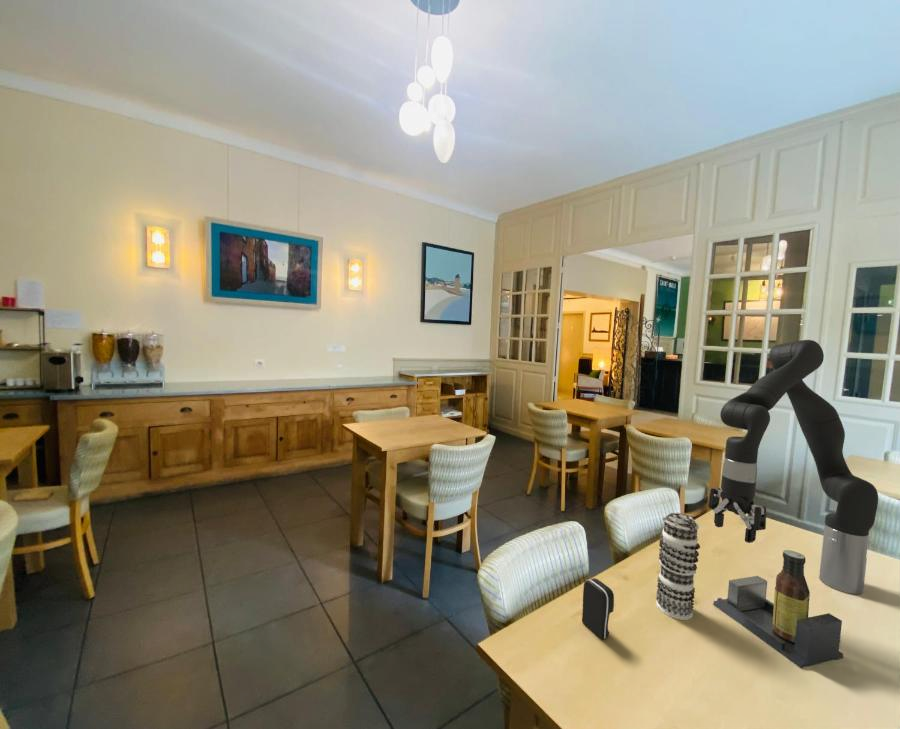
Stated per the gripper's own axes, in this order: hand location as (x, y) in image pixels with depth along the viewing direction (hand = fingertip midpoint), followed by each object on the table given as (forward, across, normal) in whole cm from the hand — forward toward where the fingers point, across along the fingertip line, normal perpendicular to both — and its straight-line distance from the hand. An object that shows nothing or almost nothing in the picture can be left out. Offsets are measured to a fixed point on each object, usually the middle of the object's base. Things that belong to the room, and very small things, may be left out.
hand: (733, 534), depth 107 cm
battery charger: (+19, +2, -43) cm, 47 cm away
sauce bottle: (+18, +15, 0) cm, 23 cm away
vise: (+18, +12, 0) cm, 22 cm away
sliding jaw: (+17, +5, 0) cm, 18 cm away
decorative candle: (+19, 0, -18) cm, 26 cm away
